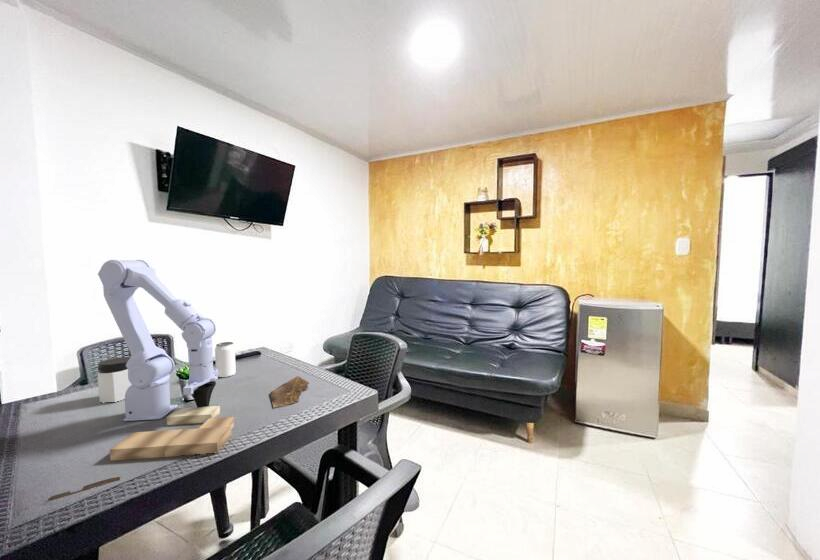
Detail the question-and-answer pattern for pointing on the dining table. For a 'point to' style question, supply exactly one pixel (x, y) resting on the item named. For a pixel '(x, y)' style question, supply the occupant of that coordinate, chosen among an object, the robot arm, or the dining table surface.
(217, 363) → the can
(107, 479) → the wooden stick
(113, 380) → the jar
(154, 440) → the angled wooden block
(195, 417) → the plank
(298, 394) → the wooden fragment
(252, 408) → the dining table surface
